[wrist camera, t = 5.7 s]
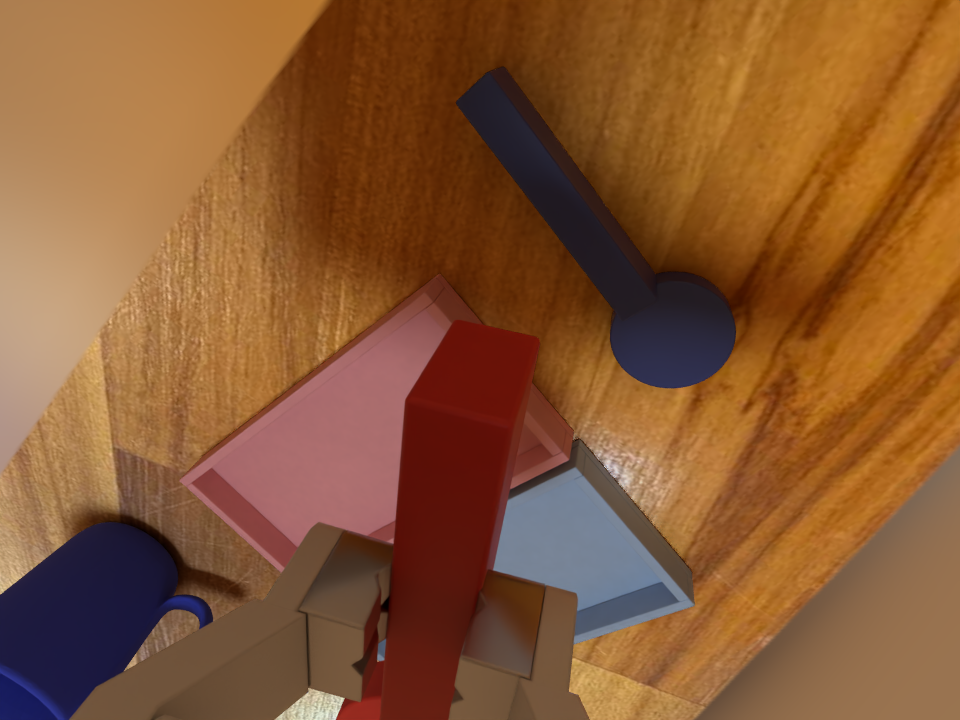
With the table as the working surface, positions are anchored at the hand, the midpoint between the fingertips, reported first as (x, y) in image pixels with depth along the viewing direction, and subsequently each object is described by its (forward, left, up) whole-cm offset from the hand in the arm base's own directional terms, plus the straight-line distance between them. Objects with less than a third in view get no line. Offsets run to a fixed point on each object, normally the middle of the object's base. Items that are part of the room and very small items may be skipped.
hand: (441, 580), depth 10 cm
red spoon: (+2, -2, -2) cm, 4 cm away
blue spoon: (+1, +2, -15) cm, 15 cm away
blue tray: (+12, -13, -15) cm, 23 cm away
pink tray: (+2, -13, -15) cm, 20 cm away
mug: (+2, -32, -15) cm, 35 cm away
